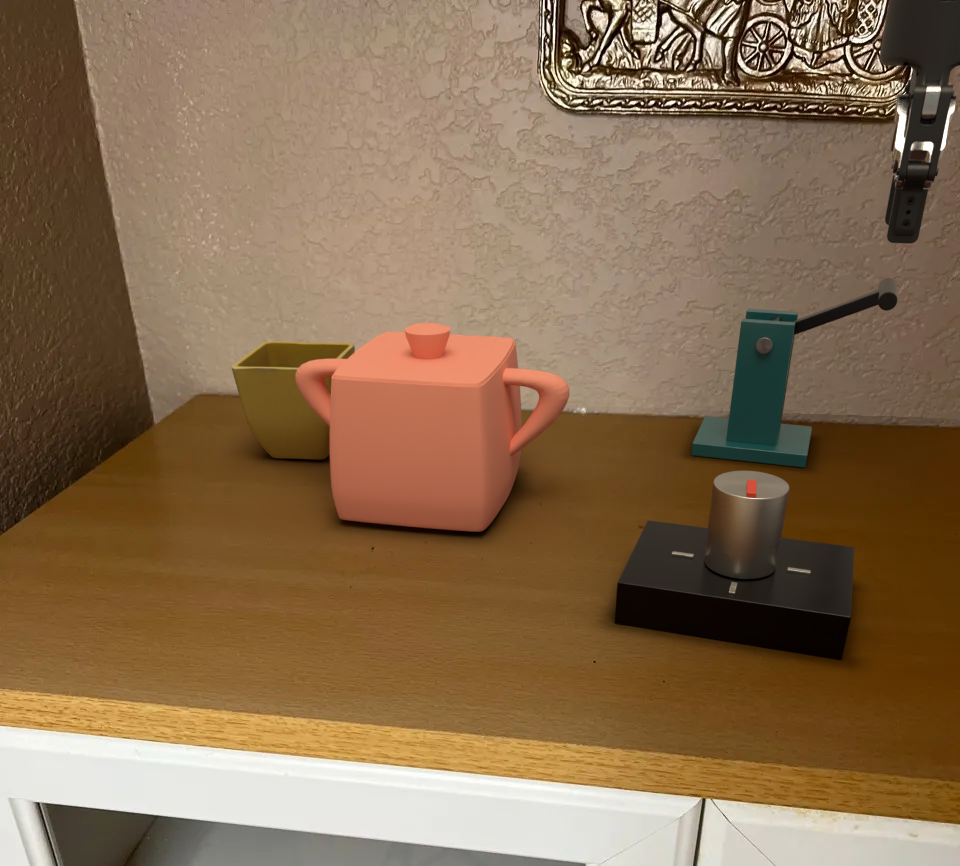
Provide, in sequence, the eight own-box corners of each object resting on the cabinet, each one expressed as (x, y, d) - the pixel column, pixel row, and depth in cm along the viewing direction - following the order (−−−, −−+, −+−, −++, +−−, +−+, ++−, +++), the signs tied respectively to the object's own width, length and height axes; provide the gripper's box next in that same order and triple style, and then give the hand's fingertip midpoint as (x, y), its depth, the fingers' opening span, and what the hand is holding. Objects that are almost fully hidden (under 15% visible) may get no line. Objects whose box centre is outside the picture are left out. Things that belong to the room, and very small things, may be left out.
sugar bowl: (549, 548, 73) (556, 360, 66) (273, 523, 77) (250, 343, 70) (584, 455, 89) (593, 297, 82) (355, 438, 94) (344, 286, 86)
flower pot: (242, 466, 88) (228, 365, 83) (275, 433, 95) (264, 339, 90) (337, 471, 86) (328, 369, 82) (363, 437, 94) (356, 342, 89)
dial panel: (846, 586, 67) (854, 544, 66) (841, 659, 59) (851, 614, 58) (644, 557, 71) (647, 517, 70) (614, 623, 63) (617, 579, 62)
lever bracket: (810, 438, 93) (832, 310, 87) (805, 468, 86) (828, 331, 80) (703, 427, 95) (717, 302, 89) (691, 455, 89) (705, 322, 83)
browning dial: (705, 544, 66) (715, 463, 63) (775, 551, 65) (789, 469, 62) (702, 575, 62) (712, 490, 59) (776, 583, 61) (791, 496, 58)
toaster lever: (899, 297, 83) (892, 269, 83) (901, 312, 79) (893, 283, 78) (759, 347, 89) (751, 322, 88) (752, 364, 84) (743, 338, 83)
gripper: (888, -7, 76) (850, 219, 84) (893, -16, 64) (848, 246, 73) (994, -10, 74) (944, 222, 82) (1019, -20, 62) (958, 251, 71)
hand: (899, 233), depth 77 cm, fingers open, 8 cm apart
